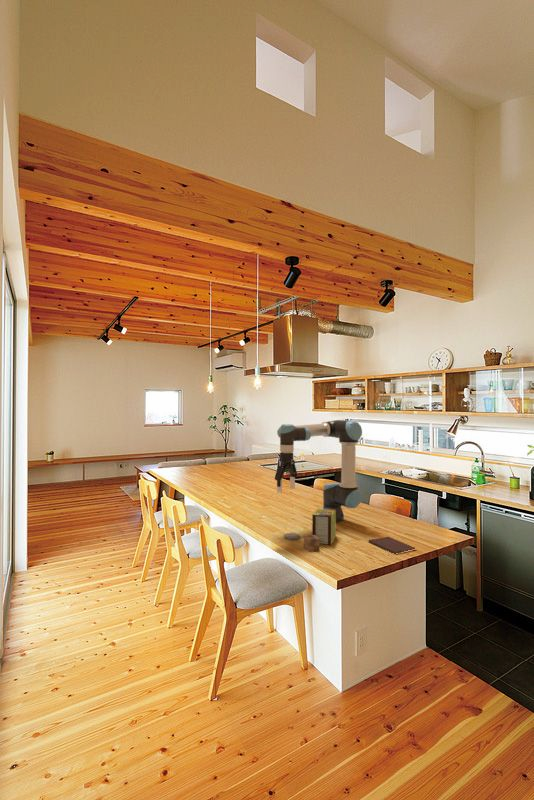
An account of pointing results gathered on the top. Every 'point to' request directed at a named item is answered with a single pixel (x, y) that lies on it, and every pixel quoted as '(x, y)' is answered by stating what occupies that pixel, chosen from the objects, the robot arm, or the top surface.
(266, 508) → the top surface
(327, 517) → the protein box
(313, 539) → the walnut block
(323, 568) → the top surface
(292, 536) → the slate coaster
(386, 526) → the top surface
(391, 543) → the notebook
